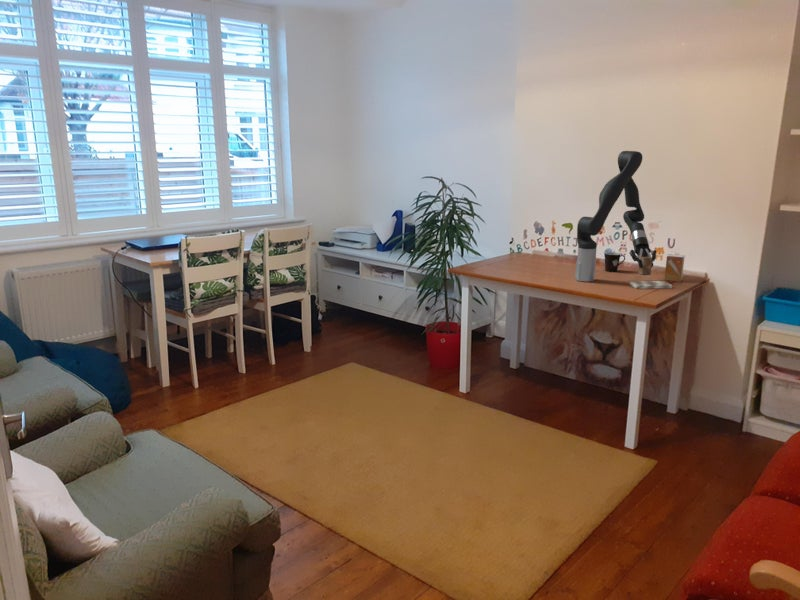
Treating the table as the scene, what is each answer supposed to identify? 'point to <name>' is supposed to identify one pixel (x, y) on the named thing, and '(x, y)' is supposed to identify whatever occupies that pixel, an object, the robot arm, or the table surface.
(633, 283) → the board
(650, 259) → the block
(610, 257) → the coffee mug
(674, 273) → the small box
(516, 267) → the table surface
